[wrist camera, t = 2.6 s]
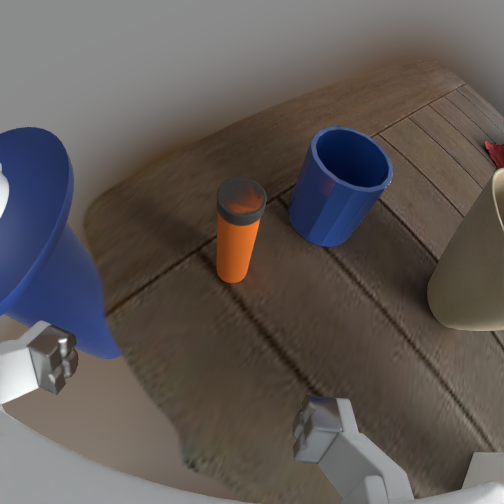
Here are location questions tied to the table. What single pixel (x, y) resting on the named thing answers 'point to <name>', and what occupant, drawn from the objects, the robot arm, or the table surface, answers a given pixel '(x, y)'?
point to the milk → (485, 469)
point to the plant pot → (473, 267)
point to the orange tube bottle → (237, 225)
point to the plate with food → (496, 153)
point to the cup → (338, 185)
